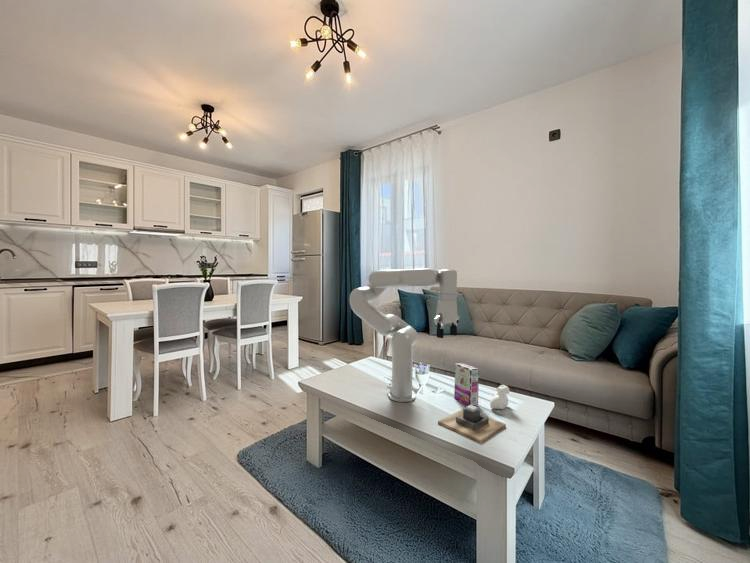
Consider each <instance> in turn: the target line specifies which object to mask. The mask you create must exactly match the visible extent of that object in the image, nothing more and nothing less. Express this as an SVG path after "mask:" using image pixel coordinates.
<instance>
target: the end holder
mask: <svg viewBox="0 0 750 563" xmlns="http://www.w3.org/2000/svg"><path fill="white" fill-rule="evenodd" d="M463 409H464V408H462V409H460V410H458V411H455V412H454V413H451V414H450V415H447V416H446V417H443V418H441V419H438V421H437V424H438V425H440V426H443V427H444V428H447V429H449V430H451V431H454V432H456V433H458V434H460V435H461V436H464V437H467V438H469V439H471V440H473V441H476V442H478V443H479V444H482V443H483V442H484V441H486V440H487V439H489V438H491V437H492V436H493V435H495V434H497V433H498V432H500V431H502V430H503V429H504V428H506V427H507V426H506V425H507V424H506V423H503V422H501V421H499V420H496V419H493V418H490V417H488V416H485V415H483V414H480V421H479V422H477V423H473V422H470V421H468V420H465V419H463Z"/></svg>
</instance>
